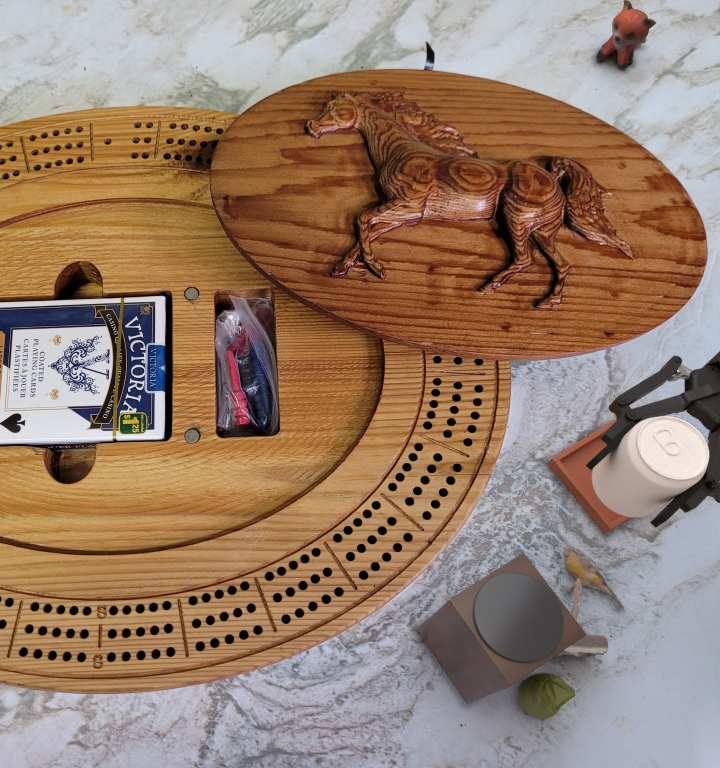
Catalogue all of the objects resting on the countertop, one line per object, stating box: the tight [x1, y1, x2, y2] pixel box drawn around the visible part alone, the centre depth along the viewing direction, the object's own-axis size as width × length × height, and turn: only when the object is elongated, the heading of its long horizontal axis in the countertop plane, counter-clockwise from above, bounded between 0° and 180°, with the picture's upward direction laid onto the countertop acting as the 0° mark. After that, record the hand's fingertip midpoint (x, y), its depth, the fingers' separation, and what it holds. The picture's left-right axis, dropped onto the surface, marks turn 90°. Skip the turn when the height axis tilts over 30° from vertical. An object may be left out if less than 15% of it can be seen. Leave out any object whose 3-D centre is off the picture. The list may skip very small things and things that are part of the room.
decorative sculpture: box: [555, 548, 625, 658], centre depth 110 cm, size 16×10×7 cm, turn 154°
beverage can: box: [592, 415, 709, 518], centre depth 91 cm, size 8×8×12 cm
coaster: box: [473, 573, 564, 662], centre depth 94 cm, size 10×10×1 cm
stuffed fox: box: [595, 0, 657, 70], centre depth 154 cm, size 8×11×12 cm
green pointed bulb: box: [517, 672, 576, 720], centre depth 105 cm, size 6×5×10 cm
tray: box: [546, 418, 631, 535], centre depth 121 cm, size 13×13×2 cm
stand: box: [416, 552, 588, 704], centre depth 103 cm, size 11×11×20 cm
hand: (625, 491), depth 88 cm, fingers closed on beverage can, 8 cm apart
